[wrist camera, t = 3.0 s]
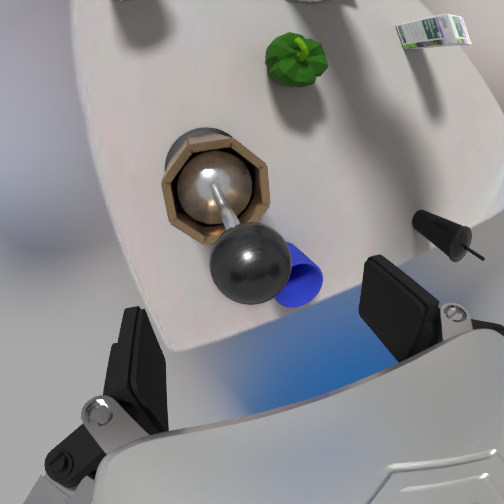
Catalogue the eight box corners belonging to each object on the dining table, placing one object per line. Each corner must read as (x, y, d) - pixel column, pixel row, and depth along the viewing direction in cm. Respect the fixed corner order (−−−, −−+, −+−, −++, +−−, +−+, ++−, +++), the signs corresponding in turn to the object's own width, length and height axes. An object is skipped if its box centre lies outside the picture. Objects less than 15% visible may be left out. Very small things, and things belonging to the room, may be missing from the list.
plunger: (247, 146, 27) (342, 187, 11) (254, 215, 31) (334, 327, 14) (171, 157, 26) (150, 217, 10) (184, 227, 30) (193, 361, 13)
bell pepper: (313, 85, 39) (345, 79, 30) (266, 94, 38) (289, 88, 30) (300, 40, 35) (328, 23, 26) (252, 47, 34) (270, 28, 26)
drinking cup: (404, 236, 57) (467, 280, 39) (411, 203, 53) (481, 241, 36) (425, 234, 58) (485, 274, 41) (432, 204, 55) (497, 239, 38)
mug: (248, 222, 47) (264, 247, 38) (307, 243, 52) (332, 269, 43) (229, 264, 50) (241, 296, 41) (287, 280, 54) (307, 311, 45)
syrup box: (394, 24, 35) (446, 12, 22) (412, 25, 35) (464, 16, 23) (403, 49, 38) (457, 43, 25) (421, 49, 38) (473, 45, 25)
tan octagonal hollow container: (239, 122, 40) (273, 123, 24) (248, 209, 46) (283, 257, 31) (159, 135, 38) (143, 142, 22) (175, 222, 44) (172, 278, 29)
